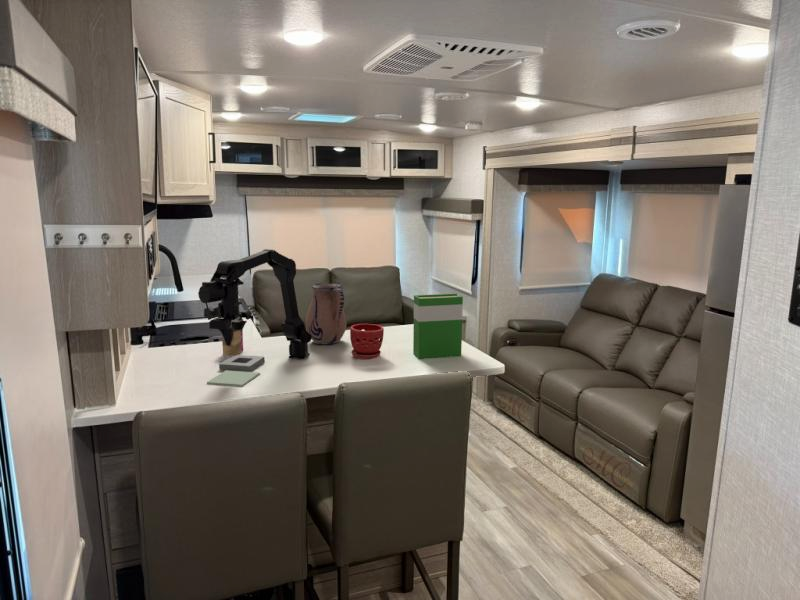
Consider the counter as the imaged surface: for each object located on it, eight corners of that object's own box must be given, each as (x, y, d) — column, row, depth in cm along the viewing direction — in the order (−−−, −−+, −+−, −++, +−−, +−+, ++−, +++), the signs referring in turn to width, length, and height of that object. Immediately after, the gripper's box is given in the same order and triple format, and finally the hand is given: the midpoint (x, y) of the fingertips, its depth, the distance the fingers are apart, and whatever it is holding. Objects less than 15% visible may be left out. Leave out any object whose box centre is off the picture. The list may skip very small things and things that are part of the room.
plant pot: (363, 363, 206) (363, 332, 204) (344, 355, 216) (343, 326, 214) (390, 356, 215) (390, 327, 212) (370, 349, 224) (370, 321, 222)
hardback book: (454, 351, 223) (456, 293, 218) (461, 356, 216) (462, 296, 211) (413, 354, 218) (413, 295, 214) (418, 359, 211) (419, 298, 207)
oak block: (241, 352, 189) (240, 330, 187) (235, 356, 184) (234, 333, 183) (229, 351, 190) (228, 329, 188) (223, 355, 185) (221, 332, 184)
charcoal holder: (264, 362, 207) (264, 356, 206) (250, 372, 195) (249, 366, 195) (235, 360, 209) (235, 354, 209) (219, 369, 198) (219, 364, 197)
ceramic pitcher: (327, 334, 248) (326, 280, 243) (361, 342, 235) (360, 285, 230) (297, 342, 235) (295, 285, 230) (331, 351, 222) (330, 290, 217)
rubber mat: (259, 374, 193) (259, 372, 193) (242, 386, 180) (242, 384, 180) (226, 371, 196) (226, 370, 195) (206, 383, 183) (206, 382, 183)
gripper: (222, 293, 194) (224, 336, 197) (192, 302, 176) (195, 349, 179) (251, 294, 192) (253, 337, 195) (224, 304, 174) (226, 351, 177)
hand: (232, 343), depth 186 cm, fingers closed on oak block, 4 cm apart
